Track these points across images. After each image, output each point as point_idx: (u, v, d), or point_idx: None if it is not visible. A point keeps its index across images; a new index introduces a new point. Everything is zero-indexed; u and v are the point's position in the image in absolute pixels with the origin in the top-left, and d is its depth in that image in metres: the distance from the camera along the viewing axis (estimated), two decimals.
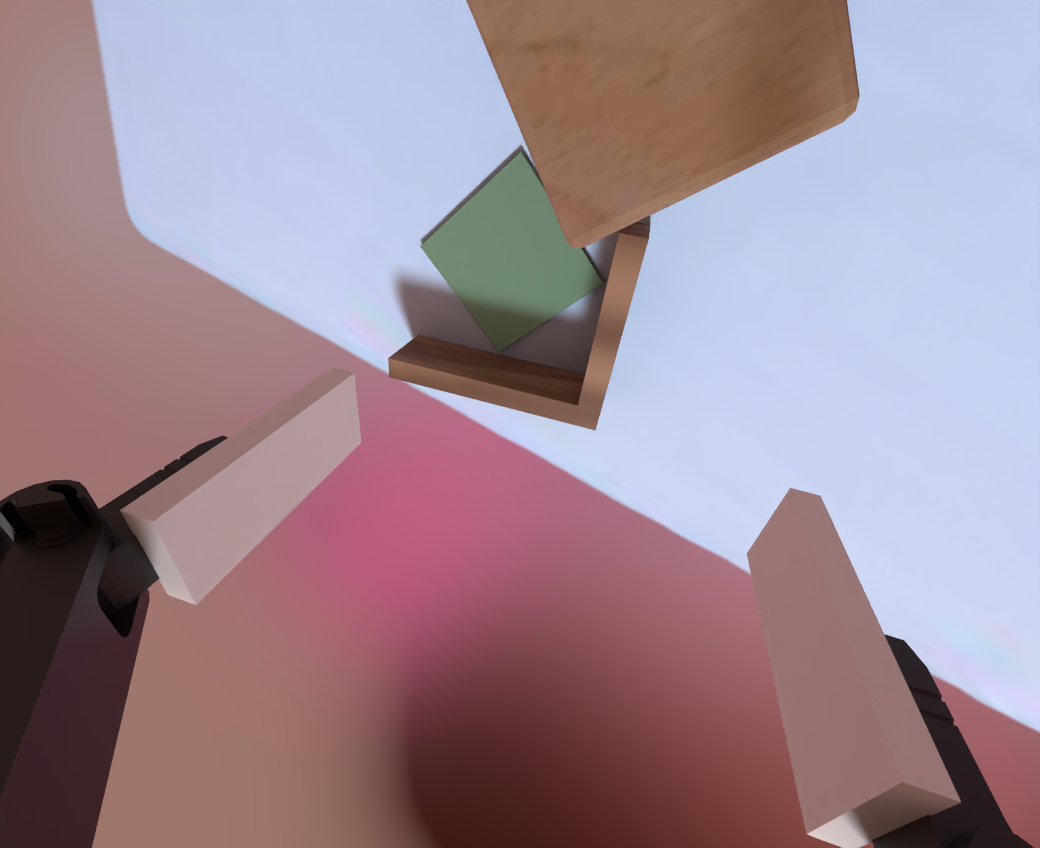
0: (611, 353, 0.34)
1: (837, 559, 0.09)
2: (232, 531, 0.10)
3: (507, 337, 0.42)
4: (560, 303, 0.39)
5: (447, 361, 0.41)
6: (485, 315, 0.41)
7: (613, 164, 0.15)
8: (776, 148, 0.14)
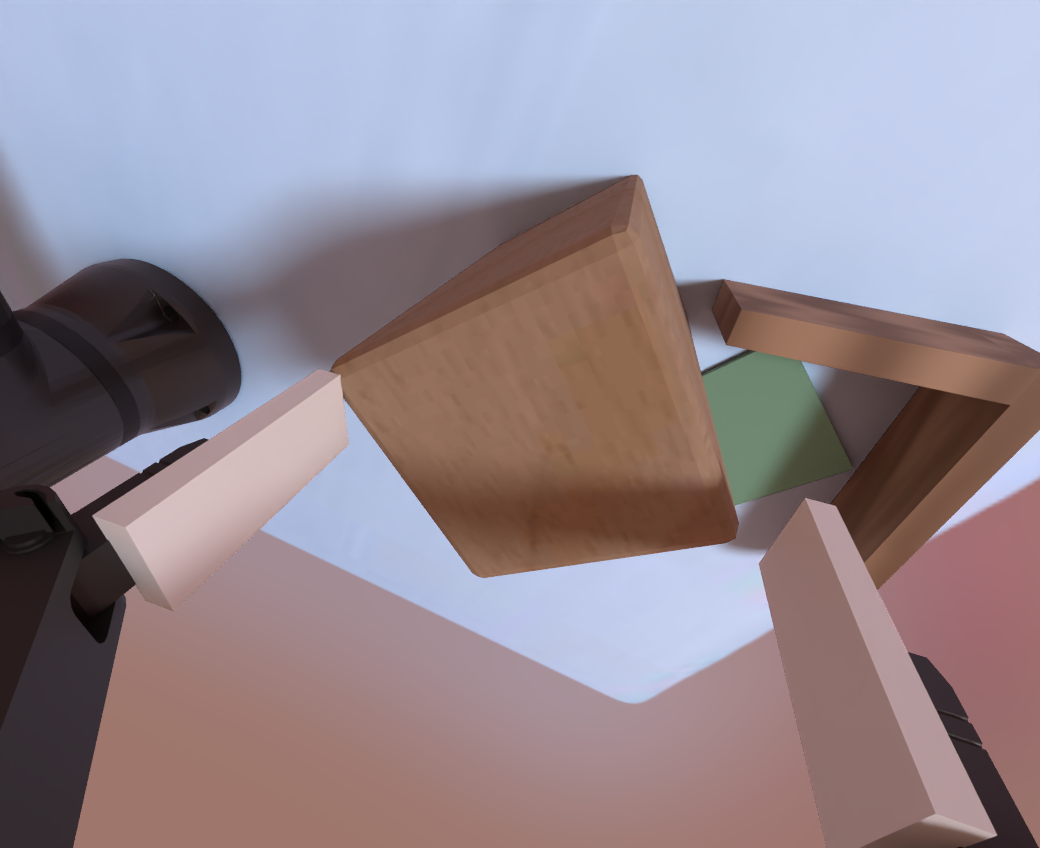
0: (915, 353, 0.21)
1: (856, 573, 0.09)
2: (212, 536, 0.10)
3: (833, 455, 0.31)
4: (802, 389, 0.29)
5: None
6: (793, 475, 0.33)
7: (644, 495, 0.13)
8: (658, 322, 0.10)
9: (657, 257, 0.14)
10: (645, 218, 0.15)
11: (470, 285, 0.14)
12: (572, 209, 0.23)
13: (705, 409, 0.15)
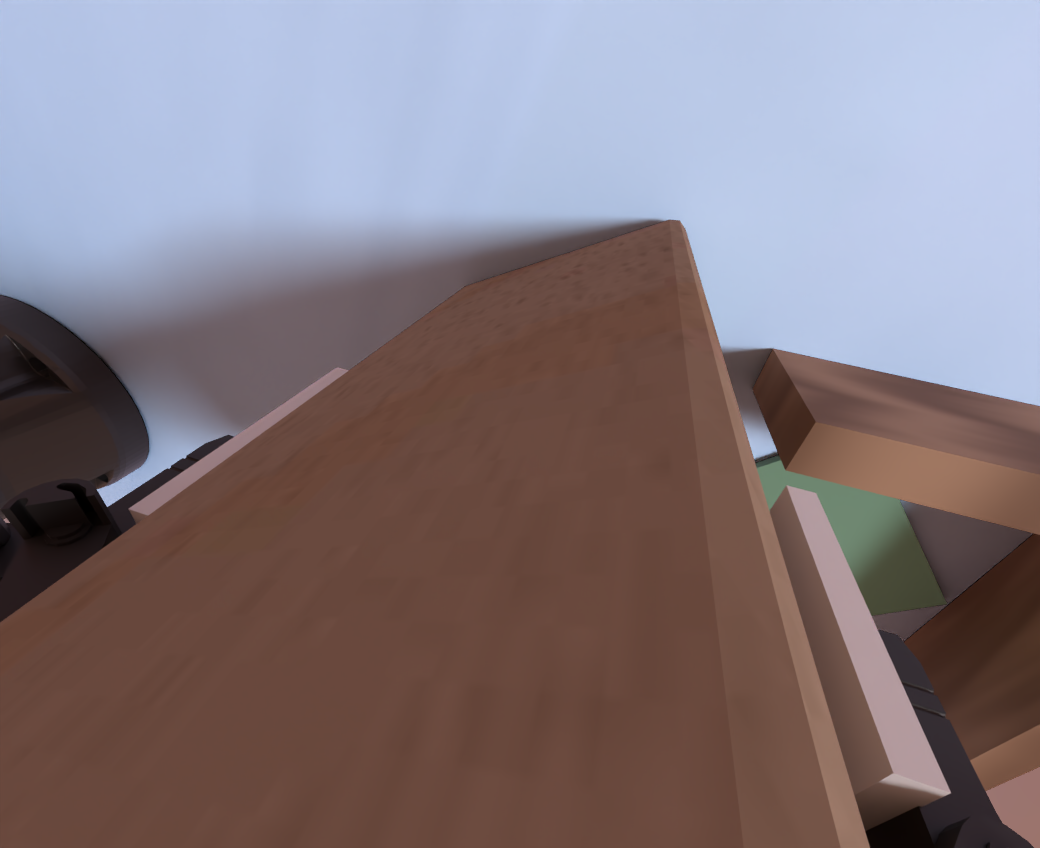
0: None
1: (832, 555, 0.10)
2: None
3: (919, 585, 0.22)
4: (881, 500, 0.20)
5: None
6: None
7: None
8: None
9: None
10: None
11: (230, 590, 0.05)
12: (572, 266, 0.15)
13: None
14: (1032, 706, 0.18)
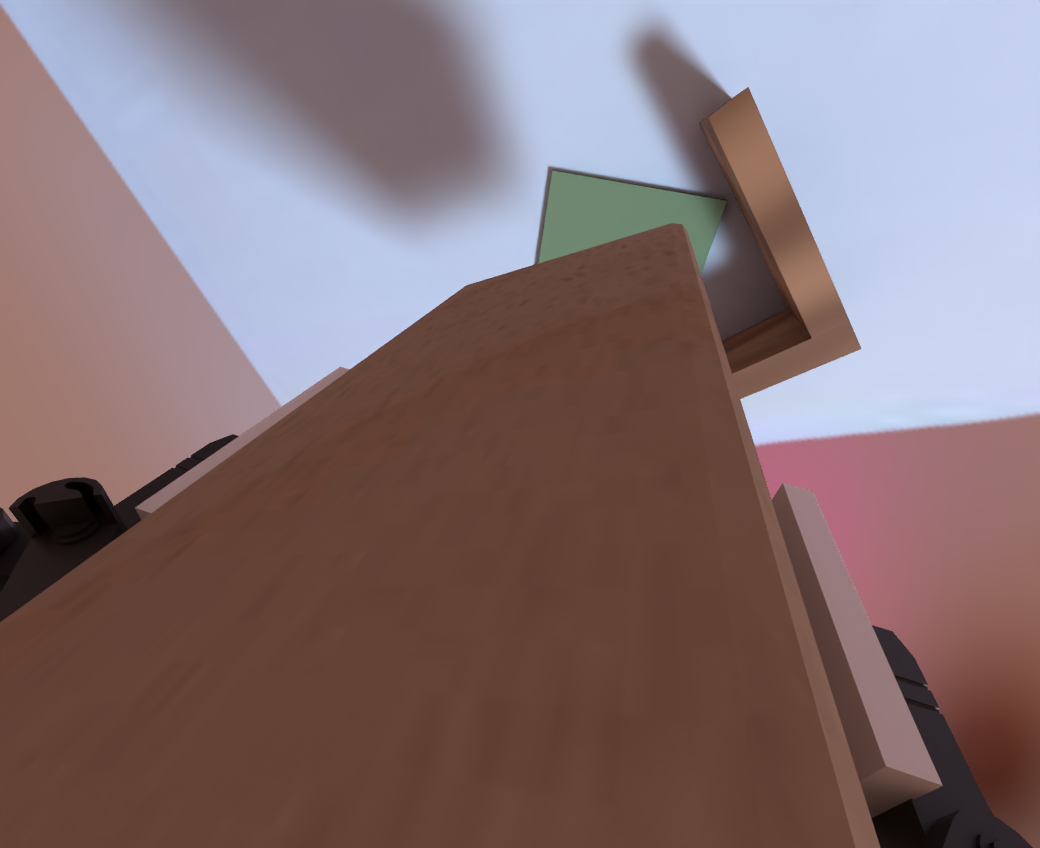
0: (806, 245, 0.24)
1: (827, 552, 0.10)
2: None
3: None
4: None
5: None
6: None
7: None
8: None
9: None
10: None
11: (236, 595, 0.05)
12: (575, 268, 0.15)
13: None
14: None
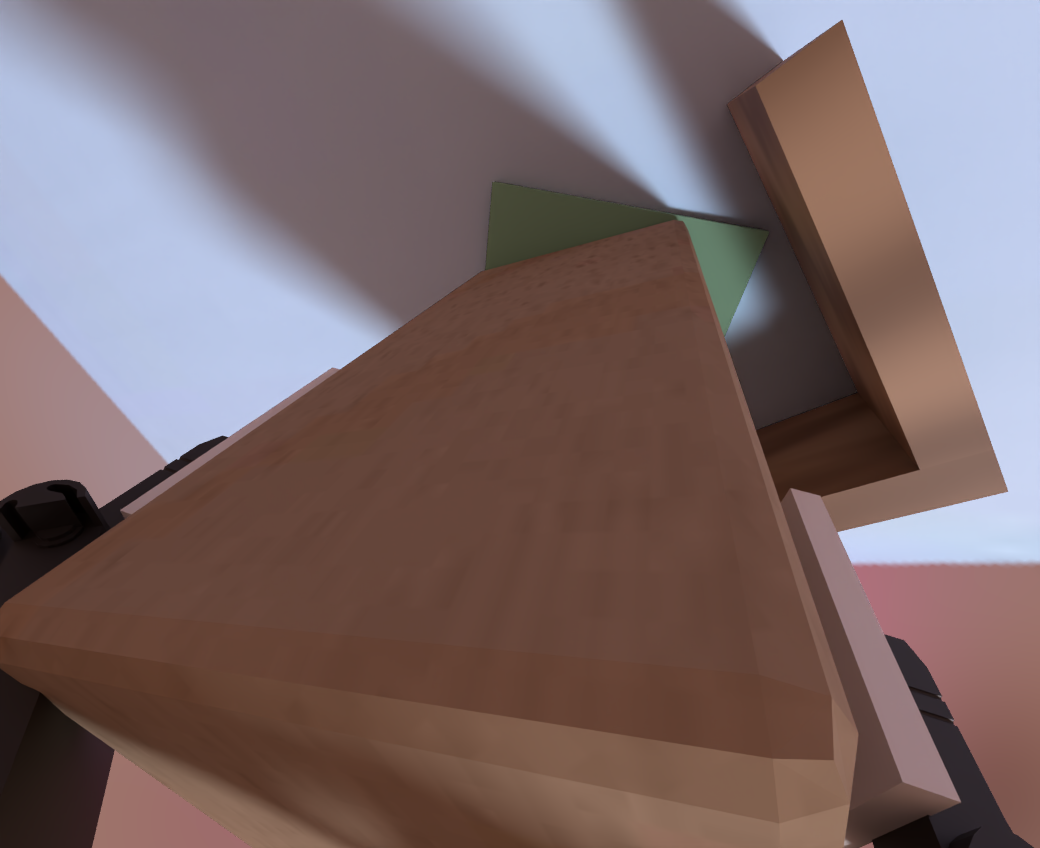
0: (928, 323, 0.13)
1: (837, 559, 0.09)
2: None
3: None
4: None
5: None
6: None
7: None
8: None
9: None
10: None
11: (347, 477, 0.06)
12: (586, 257, 0.16)
13: None
14: None
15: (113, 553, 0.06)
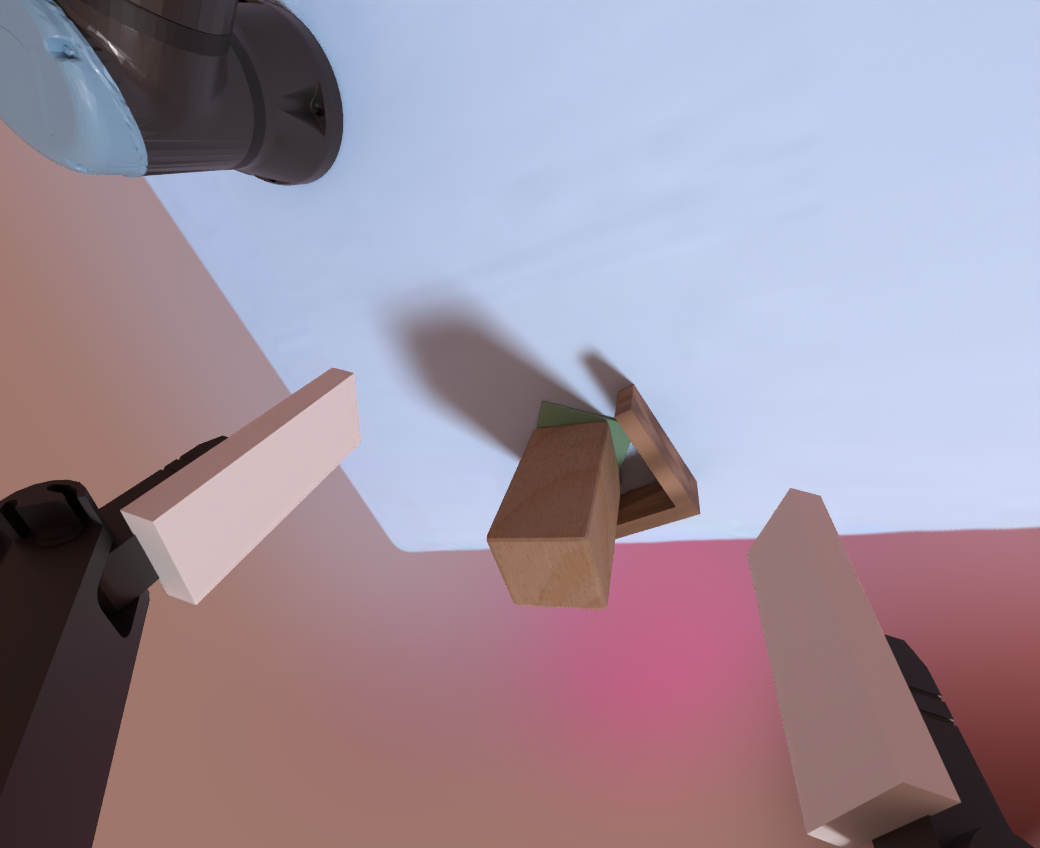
0: (666, 469, 0.48)
1: (837, 559, 0.09)
2: (232, 531, 0.10)
3: None
4: (622, 450, 0.55)
5: None
6: None
7: (580, 592, 0.41)
8: (589, 555, 0.39)
9: (598, 510, 0.43)
10: (597, 495, 0.43)
11: (536, 516, 0.41)
12: (574, 440, 0.51)
13: (606, 562, 0.43)
14: None
15: (502, 527, 0.41)
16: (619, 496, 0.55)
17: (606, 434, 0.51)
